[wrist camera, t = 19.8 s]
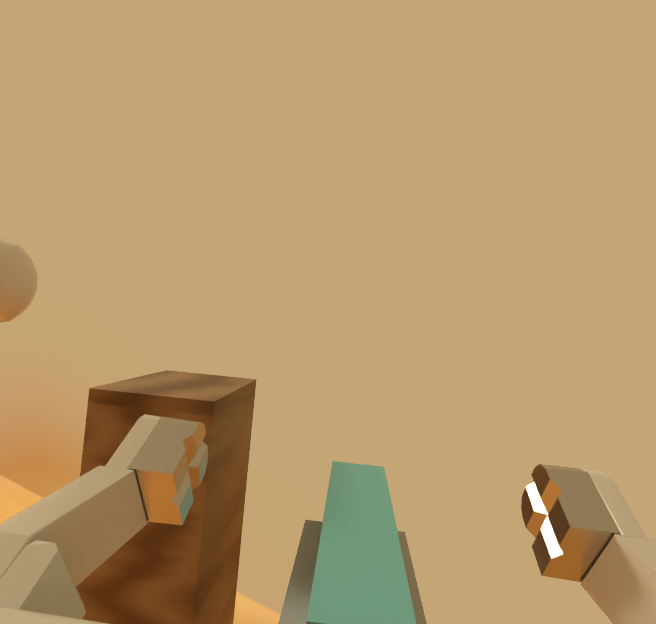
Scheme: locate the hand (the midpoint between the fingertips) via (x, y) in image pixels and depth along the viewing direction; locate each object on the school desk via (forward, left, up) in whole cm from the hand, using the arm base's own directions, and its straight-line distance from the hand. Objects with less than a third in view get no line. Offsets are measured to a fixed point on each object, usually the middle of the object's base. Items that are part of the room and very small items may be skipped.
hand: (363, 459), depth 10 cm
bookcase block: (-14, +24, -29) cm, 40 cm away
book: (+1, +17, -13) cm, 21 cm away
